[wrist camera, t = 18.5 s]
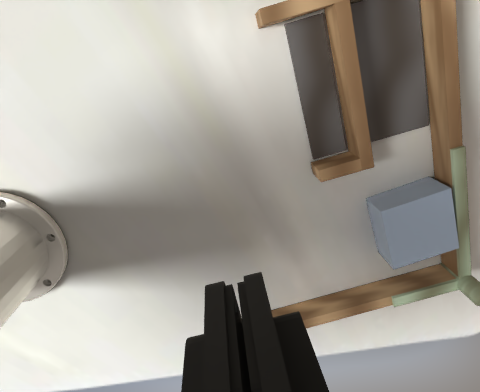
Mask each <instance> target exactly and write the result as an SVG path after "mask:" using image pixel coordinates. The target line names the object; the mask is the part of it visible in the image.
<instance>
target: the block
mask: <svg viewBox="0 0 480 392" xmlns="http://www.w3.org/2000/svg"><path fill="white" fill-rule="evenodd" d="M366 202H367V206H368V210H369V215H370V219H371V223H372V227H373V232H374V236H375V240H376V245H377V249H378V252H379V253H380V254H381V256H382V257H383V258H384V259H385V260H386V261H387V262H388V264H389V265H390V266H391V267H392V268H393V269H397V268H400V267H403V266H406V265H409V264H412V263H415V262H418V261H421V260H424V259H427V258H430V257H433V256H437V255H440V254H443V253H446V252H449V251H452V250H455V249H458V248H459V242H458V235H457V227H456V220H455V213H454V205H453V198H452V190H451V188H450V187H448V186H446V185H444V184H442V183H440V182H439V181H437V180H435V179H433V178H431V177H426V178H423V179H420V180H417V181H415V182H412V183H409V184H406V185H403V186H400V187H397V188H394V189H391V190H388V191H385V192H383V193H380V194H377V195H374V196H371V197H368V198H366Z"/></svg>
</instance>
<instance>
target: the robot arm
mask: <svg viewBox="0 0 480 392" xmlns="http://www.w3.org/2000/svg"><path fill="white" fill-rule="evenodd" d="M67 260H68V249H67V245H66V240H65V238H64V236H63V233H62V231H61V229H60V228H59V226H58V225H57V224H56V222H55V221H54V219H53V218H51V217H50V216H49V215H48V214H47V213H46V212H45V211H44V210H43V209H41V208H40V207H39V206H37V205H36V204H34V203H32V202H30V201H28V200H26V199H24V198H22V197H19V196H16V195H13V194H9V193H3V192H0V329H1V327H2V326H3V325H4V324H5V322H6V321H7V320H8V319H9V317H10V316H11V315H12V314H13V313H14V311H15V310H16V309H17V308H18V306H19V305H20V304H21V303H22V302H26V301H31V300H33V299H36V298H38V297H41V296H42V295H44V294H46V293H47V292H49V291H50V290H51V289H52V288H53V287H54V286H55V285H56V284H57V282H58V281H59V280H60V278H61V277H62V275H63V273H64V271H65V269H66V265H67ZM237 284H238V292H239V300H240V307H241V314H240V310H239V307H238V303H237V300H236V296H235V293H234V289H233V286H232V284H231V285H227V286H226V285H225V283H224V281H222V282H218V283H214V284H210V285H206V286H205V315H204V334H202V335H198V336H194V337H190V338H187V340H186V345H185V356H184V367H183V380H182V391H181V392H329V390H328V387H327V385H326V382H325V379H324V376H323V374H322V371H321V369H320V366H319V363H318V360H317V358H316V355H315V352H314V349H313V347H312V344H311V341H310V339H309V336H308V333H307V330H306V328H305V325H304V322H303V320H302V317H301V314H300V312H299V311H297V312H293V313H289V314H285V315H281V316H277V317H273V316H272V312H271V308H270V304H269V300H268V296H267V292H266V288H265V284H264V280H263V277H262V273H261V272H259V273H255V274H251V275H247V276H244V281H243V282H239V283H237ZM241 315H242V318H241Z"/></svg>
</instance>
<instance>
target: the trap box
mask: <svg viewBox="0 0 480 392" xmlns="http://www.w3.org/2000/svg"><path fill="white" fill-rule="evenodd" d="M350 1H351V0H287V1H284V2H281V3H277V4H274V5H271V6H268V7H264V8H261V9H259V10H258V11H257V13H256V14H255V15H256V19H257V23H258V28H259V29H260V28H263V27H266V26H269V25H273V24H276V23H279V22H282V21H286V20H289V19H292V18H295V17H299V16H302V15H305V14H309V13H312V12H315V11H318V10H322V9H324V11H325V16H326V22H327V28H328V34H329V40H330V46H331V51H332V57H333V63H334V69H335V75H336V80H337V86H338V92H339V98H340V104H341V110H342V115H343V121H344V127H345V133H346V139H347V144H348V150H349V151H348V152H345V153H342V154H338V155H335V156H331V157H328V158H324V159H321V160H317V161H314V162H311V166H312V171H313V174H314V175H315V176H316V177H317V178H318V179H319V180H320V182H324V181H327V180H331V179H334V178H338V177H341V176H345V175H348V174H352V173H355V172H359V171H362V170H366V169H369V168H373V167H374V162H373V155H372V148H371V142H373V141H376V140H380V139H383V138H387V137H390V136H393V135H397V134H400V133H404V132H407V131H411V130H414V129H418V128H421V127H424V126H428V125H429V119H428V107H427V95H426V83H425V71H424V59H423V47H422V35H421V23H420V11H419V0H363V1H360V2H357V3H353V4H350ZM420 5H421V17H422V29H423V42H424V54H425V66H426V78H427V91H428V103H429V115H430V127H431V139H432V152H433V164H434V176H435V180H437V181H439V182H440V183H442V184H444V185H446V186H448V187H450V188H451V190H452V198H453V205H454V213H455V220H456V227H457V235H458V242H459V248H458V249H455V250H452V251H449V252H446V253H443V254H441V263H440V264H438V265H435V266H431V267H427V268H424V269H420V270H417V271H413V272H409V273H406V274H402V275H398V276H395V277H391V278H387V279H384V280H380V281H377V282H373V283H369V284H366V285H362V286H358V287H355V288H351V289H347V290H344V291H340V292H337V293H333V294H329V295H326V296H322V297H318V298H315V299H311V300H307V301H304V302H300V303H297V304H293V305H289V306H286V307H282V308H278V309H275V310H271V312H272V316H273V317H277V316H281V315H285V314H289V313H293V312H297V311H299V312H300V314H301V317H302V320H303V322H304V325H305V328H309V327H313V326H317V325H320V324H324V323H328V322H331V321H335V320H339V319H342V318H346V317H350V316H353V315H357V314H361V313H365V312H368V311H372V310H376V309H379V308H383V307H387V306H390V305H393V306H394V307H397V306H401V305H404V304H408V303H412V302H415V301H419V300H423V299H426V298H430V297H434V296H437V295H441V294H445V293H448V292H452V291H456V290H460V291H461V292H462V293H464V294H465V295H466V296H467V297H468V298H469V299H470V300H471V301H472V302H473V303H474V304H475V305H477V306H480V282H479V281H478V280H477V279H475V278H474V277H473V276H472V275H471V258H470V236H469V214H468V192H467V171H466V149H465V146H463V144H462V124H461V103H460V83H459V63H458V42H457V22H456V1H455V0H420ZM285 29H286V34H287V39H288V44H289V48H290V53H291V58H292V62H293V67H294V72H295V77H296V81H297V86H298V91H299V95H300V100H301V105H302V110H303V114H304V119H305V124H306V128H307V133H308V138H309V143H310V147H311V152H312V157H313V159H318V158H321V157H324V156H328V155H331V154H335V153H338V152H342V151H345V150H346V145H345V139H344V134H343V128H342V122H341V116H340V111H339V105H338V99H337V93H336V88H335V82H334V76H333V70H332V65H331V59H330V53H329V47H328V42H327V36H326V30H325V24H324V19H323V13H321V14H317V15H314V16H311V17H307V18H304V19H301V20H298V21H294V22H291V23H288V24H285Z"/></svg>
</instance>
